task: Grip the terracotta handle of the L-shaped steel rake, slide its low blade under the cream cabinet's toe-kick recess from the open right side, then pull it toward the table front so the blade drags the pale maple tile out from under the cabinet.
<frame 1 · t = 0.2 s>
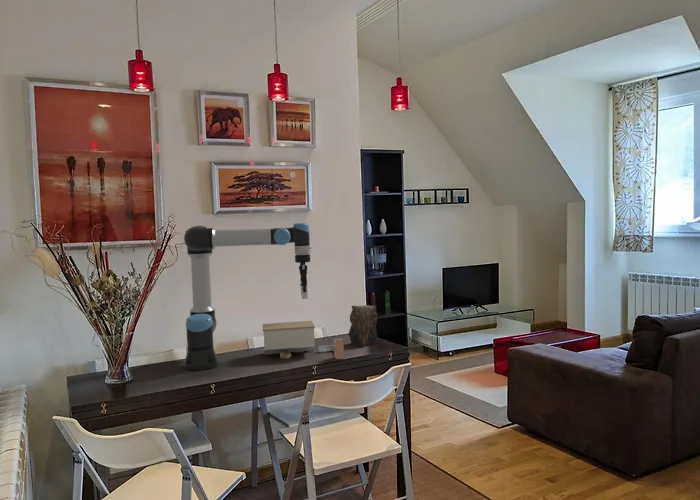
hand: (304, 296, 270), 28 cm above the table, fingers open, 13 cm apart
tile: (285, 357, 262), on the table
rake: (339, 358, 257), on the table
owl: (362, 344, 283), on the table
cabinet: (289, 354, 266), on the table
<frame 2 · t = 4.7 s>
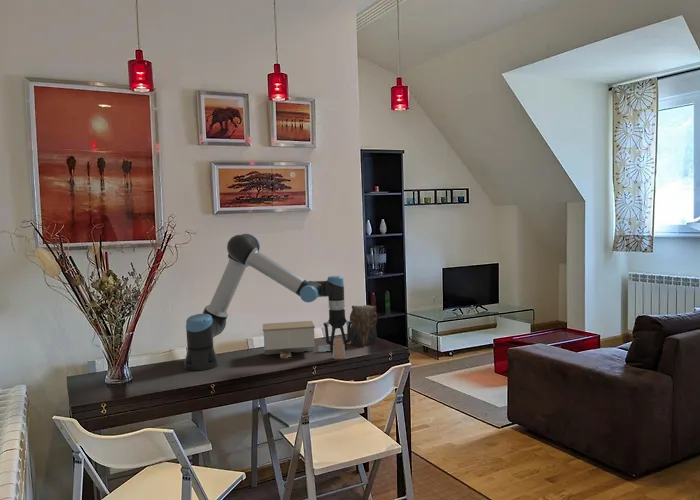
hand: (338, 357, 257), 0 cm above the table, fingers closed on rake, 4 cm apart
rake: (338, 358, 257), on the table, touching gripper
everything else where it was.
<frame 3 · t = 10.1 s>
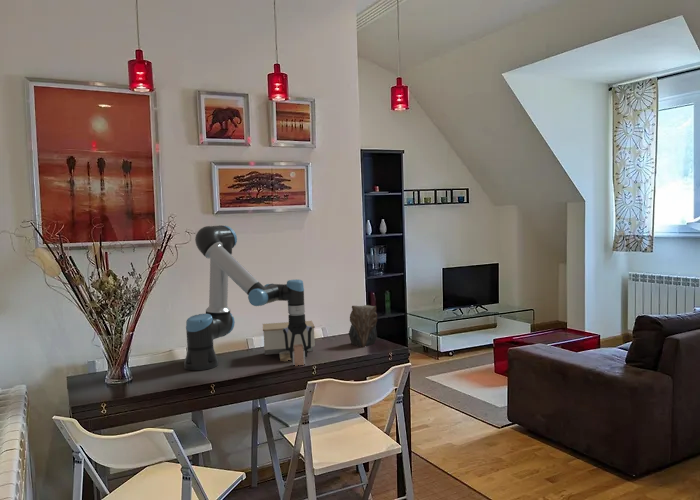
hand: (299, 364, 247), 0 cm above the table, fingers closed on rake, 4 cm apart
tile: (285, 360, 257), on the table
rake: (299, 364, 247), on the table, touching gripper
everything else where it was.
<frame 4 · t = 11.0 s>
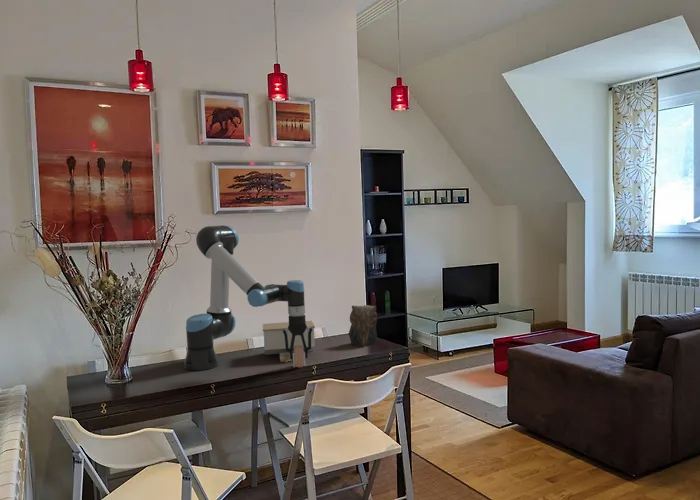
hand: (299, 365, 245), 0 cm above the table, fingers closed on rake, 4 cm apart
tile: (285, 361, 255), on the table
rake: (299, 366, 245), on the table, touching gripper
everything else where it was.
when the fingers open (0 cm above the table, at t = 11.7 s): rake stays where it is, on the table.
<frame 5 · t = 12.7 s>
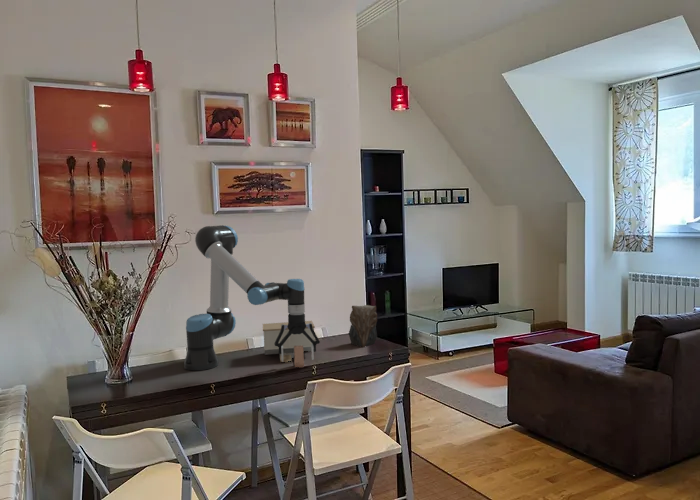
hand: (297, 360, 244), 3 cm above the table, fingers open, 13 cm apart
rake: (299, 366, 245), on the table
everything else where it was.
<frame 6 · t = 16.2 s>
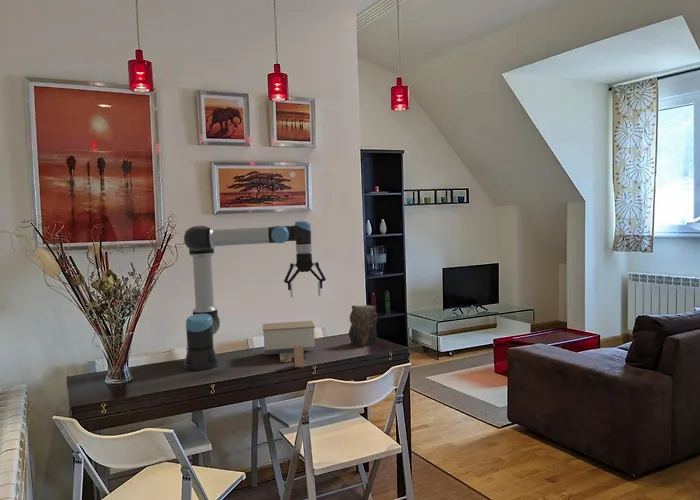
hand: (305, 296, 265), 29 cm above the table, fingers open, 13 cm apart
nothing on the table moved.
at the end: tile inside the target area (3.8 cm from its centre), on the table; tile moved 7.5 cm from its start; the gripper is holding nothing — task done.
